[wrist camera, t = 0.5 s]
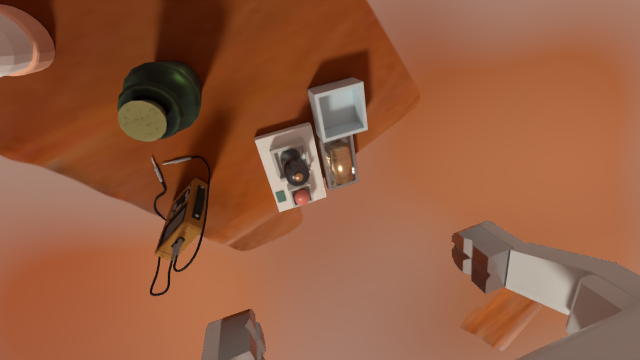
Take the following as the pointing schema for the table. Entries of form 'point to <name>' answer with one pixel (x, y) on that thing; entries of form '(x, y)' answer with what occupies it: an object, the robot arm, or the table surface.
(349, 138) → the trough
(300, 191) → the button
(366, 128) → the grey square open box
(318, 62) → the table surface
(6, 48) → the pepper shaker
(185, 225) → the multimeter
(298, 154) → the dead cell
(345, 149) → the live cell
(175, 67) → the potion bottle
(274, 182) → the battery tester
